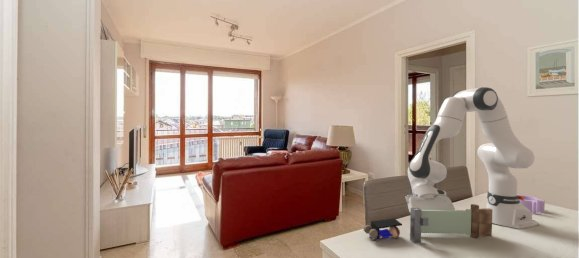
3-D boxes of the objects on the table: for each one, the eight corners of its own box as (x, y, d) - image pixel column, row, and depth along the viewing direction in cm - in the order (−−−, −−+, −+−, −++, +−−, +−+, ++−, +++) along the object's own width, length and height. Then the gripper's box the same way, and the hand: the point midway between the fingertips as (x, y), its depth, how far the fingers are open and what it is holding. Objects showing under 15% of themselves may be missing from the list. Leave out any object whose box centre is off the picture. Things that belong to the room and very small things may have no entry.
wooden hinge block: (487, 234, 118) (487, 203, 117) (493, 237, 115) (494, 205, 114) (468, 235, 116) (469, 204, 116) (473, 238, 113) (474, 206, 113)
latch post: (421, 239, 113) (422, 207, 112) (428, 243, 109) (428, 210, 108) (410, 240, 112) (410, 207, 111) (415, 244, 108) (416, 211, 107)
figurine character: (372, 247, 109) (404, 239, 112) (370, 229, 109) (402, 222, 112) (364, 239, 116) (394, 232, 119) (362, 222, 115) (393, 216, 118)
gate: (468, 234, 116) (468, 207, 116) (471, 236, 114) (472, 209, 113) (411, 233, 117) (412, 206, 117) (414, 235, 115) (414, 208, 114)
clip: (493, 203, 160) (493, 192, 159) (508, 201, 163) (509, 190, 163) (531, 215, 140) (532, 202, 140) (547, 213, 144) (548, 200, 143)
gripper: (406, 191, 123) (417, 220, 114) (448, 191, 124) (462, 219, 115) (402, 198, 128) (411, 226, 119) (442, 197, 129) (455, 225, 120)
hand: (437, 222), depth 117 cm, fingers closed
